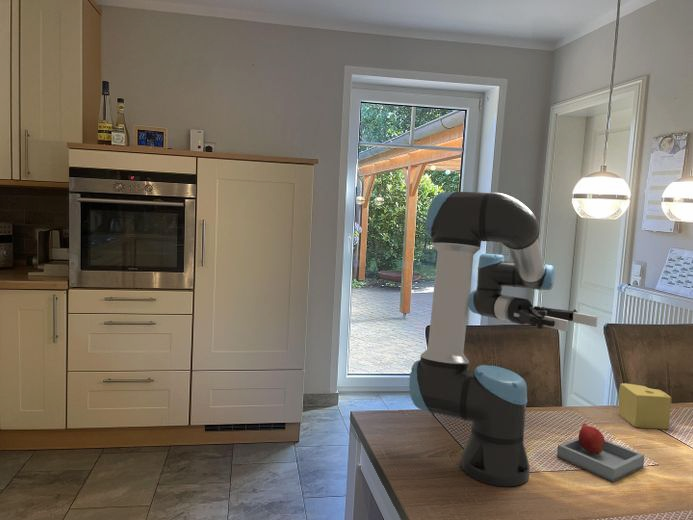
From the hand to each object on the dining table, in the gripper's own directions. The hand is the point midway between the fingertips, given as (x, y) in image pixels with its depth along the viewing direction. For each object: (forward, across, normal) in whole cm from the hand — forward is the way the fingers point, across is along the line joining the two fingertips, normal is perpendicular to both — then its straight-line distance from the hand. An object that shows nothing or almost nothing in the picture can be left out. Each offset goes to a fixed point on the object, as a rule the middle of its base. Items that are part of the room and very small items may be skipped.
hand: (582, 323), depth 132 cm
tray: (+10, +4, -32) cm, 34 cm away
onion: (+10, +4, -30) cm, 32 cm away
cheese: (+3, -33, -32) cm, 46 cm away
